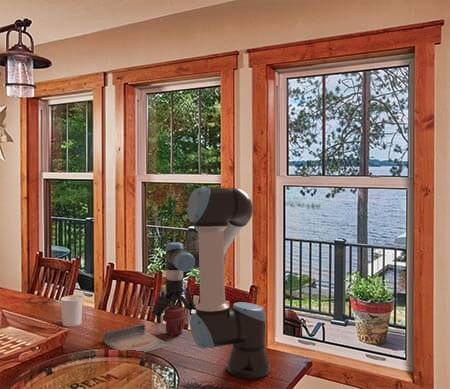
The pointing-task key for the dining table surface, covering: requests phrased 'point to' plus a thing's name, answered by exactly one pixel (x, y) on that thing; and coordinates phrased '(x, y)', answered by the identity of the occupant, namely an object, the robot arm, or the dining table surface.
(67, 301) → the candle holder
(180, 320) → the mechanical component
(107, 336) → the rack plate
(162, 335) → the dining table surface
